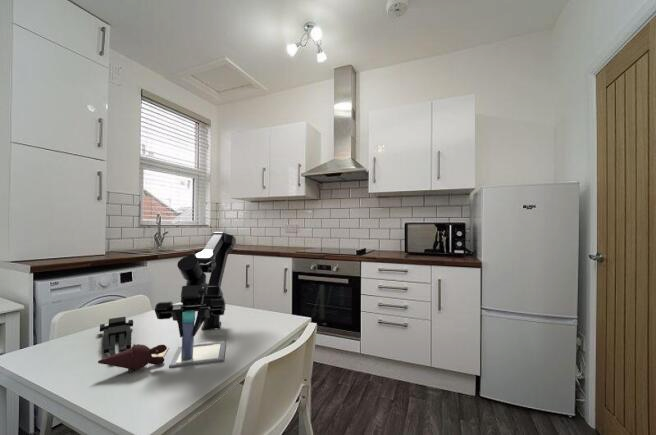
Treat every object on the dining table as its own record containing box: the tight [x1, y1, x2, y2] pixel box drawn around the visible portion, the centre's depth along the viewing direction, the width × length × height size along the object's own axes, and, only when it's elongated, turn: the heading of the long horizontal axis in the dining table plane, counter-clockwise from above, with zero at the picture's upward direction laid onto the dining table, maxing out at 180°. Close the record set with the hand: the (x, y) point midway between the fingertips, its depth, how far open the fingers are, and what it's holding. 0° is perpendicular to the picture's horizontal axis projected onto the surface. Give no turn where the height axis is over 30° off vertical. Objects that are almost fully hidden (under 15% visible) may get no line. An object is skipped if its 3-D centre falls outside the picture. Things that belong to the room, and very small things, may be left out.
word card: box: [152, 347, 169, 358], centre depth 82 cm, size 6×4×1 cm, turn 18°
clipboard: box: [168, 341, 227, 368], centre depth 82 cm, size 12×14×1 cm
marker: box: [181, 311, 196, 360], centre depth 78 cm, size 3×3×13 cm
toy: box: [99, 316, 134, 356], centre depth 88 cm, size 10×5×30 cm
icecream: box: [97, 343, 168, 374], centre depth 73 cm, size 7×7×15 cm
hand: (187, 336), depth 77 cm, fingers closed on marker, 3 cm apart
